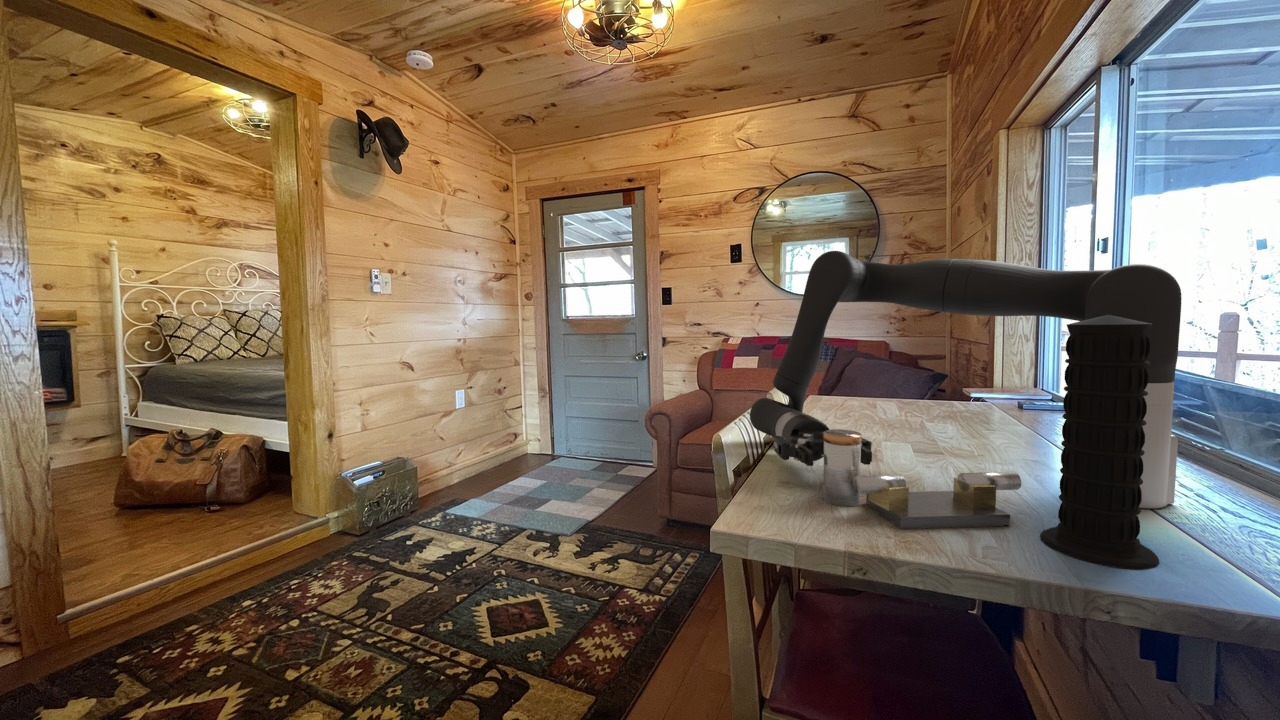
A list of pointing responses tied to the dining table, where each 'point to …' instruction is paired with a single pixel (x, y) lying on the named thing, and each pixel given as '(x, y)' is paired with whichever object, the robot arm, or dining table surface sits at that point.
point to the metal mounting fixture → (939, 500)
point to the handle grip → (1103, 444)
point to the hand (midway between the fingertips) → (839, 458)
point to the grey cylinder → (841, 466)
